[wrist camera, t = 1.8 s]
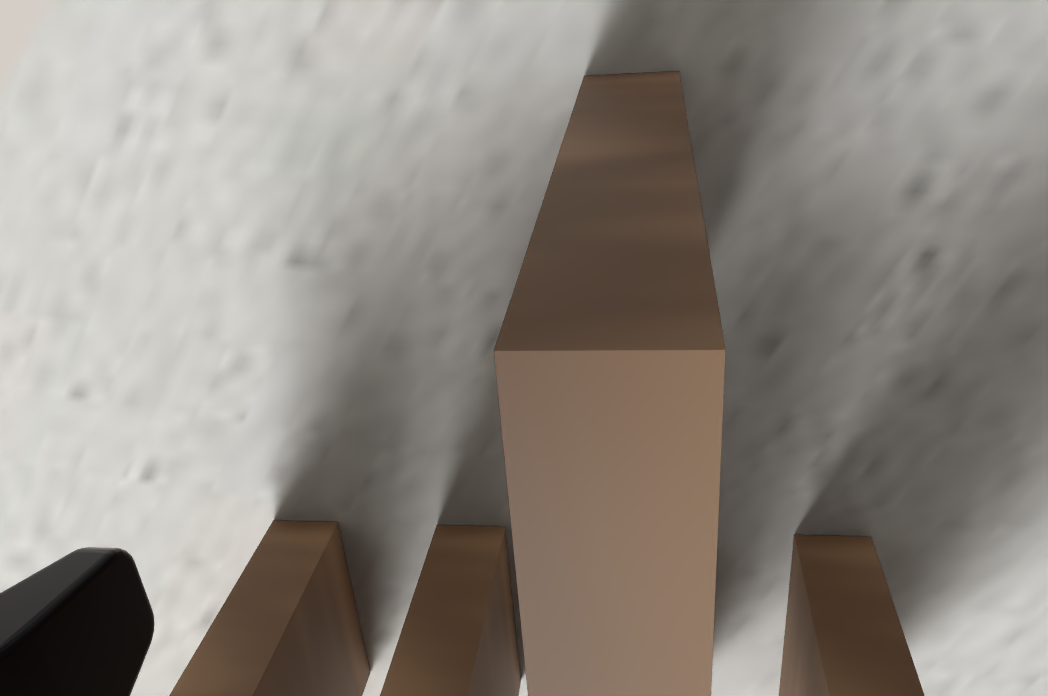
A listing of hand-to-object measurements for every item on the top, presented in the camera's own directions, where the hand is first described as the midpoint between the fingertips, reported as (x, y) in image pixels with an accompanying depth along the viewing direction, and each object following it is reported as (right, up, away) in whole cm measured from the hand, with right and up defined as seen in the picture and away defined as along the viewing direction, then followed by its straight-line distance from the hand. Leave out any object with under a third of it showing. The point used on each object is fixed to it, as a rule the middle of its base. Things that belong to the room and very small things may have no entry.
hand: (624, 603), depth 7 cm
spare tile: (+1, +5, +9) cm, 10 cm away
